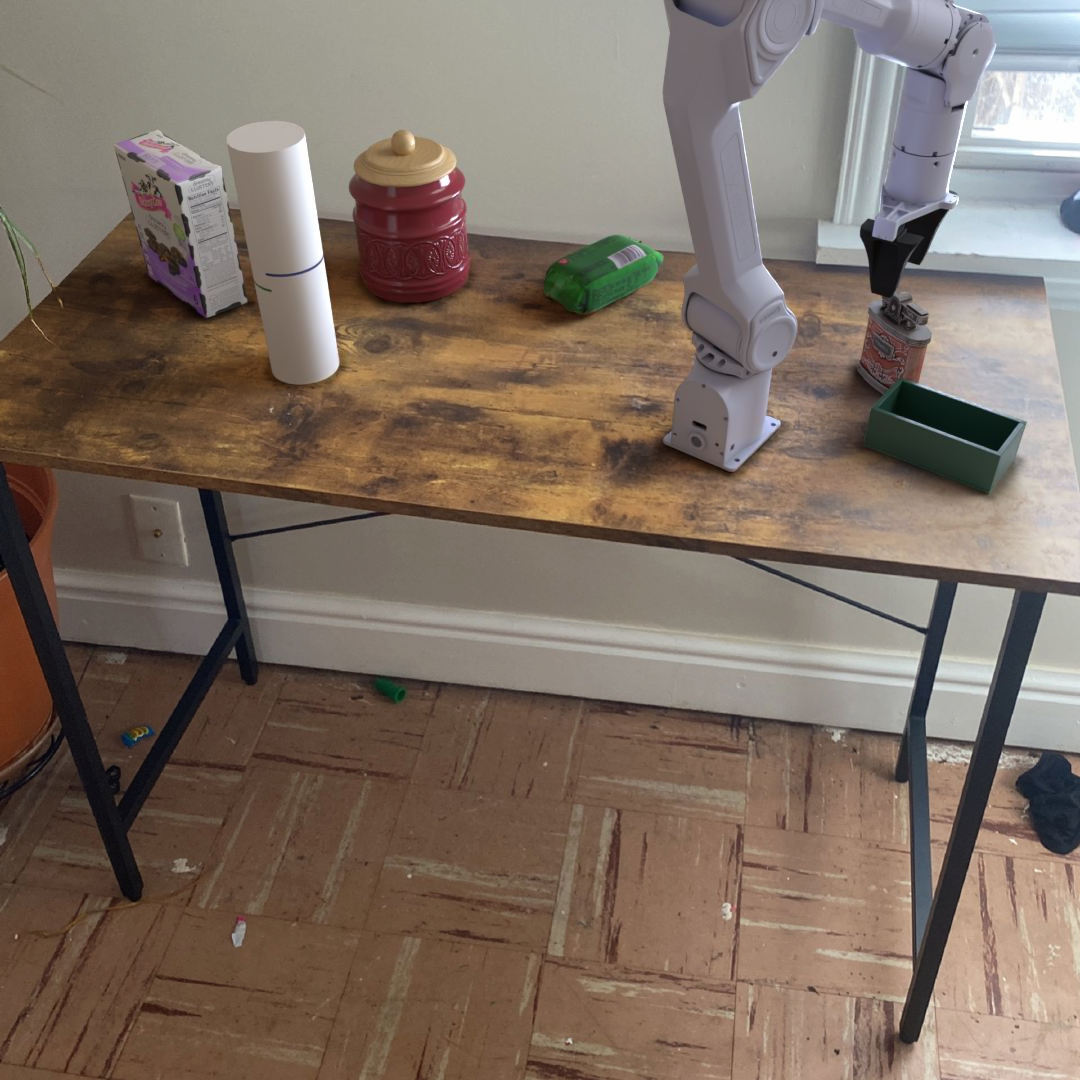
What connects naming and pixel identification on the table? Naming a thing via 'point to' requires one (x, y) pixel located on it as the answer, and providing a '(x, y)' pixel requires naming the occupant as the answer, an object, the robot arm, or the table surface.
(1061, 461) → the table surface
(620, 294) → the snack package
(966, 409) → the green open box
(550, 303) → the table surface
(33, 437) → the table surface
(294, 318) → the cylindrical container
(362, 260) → the kitchen canister
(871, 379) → the lighter
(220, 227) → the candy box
